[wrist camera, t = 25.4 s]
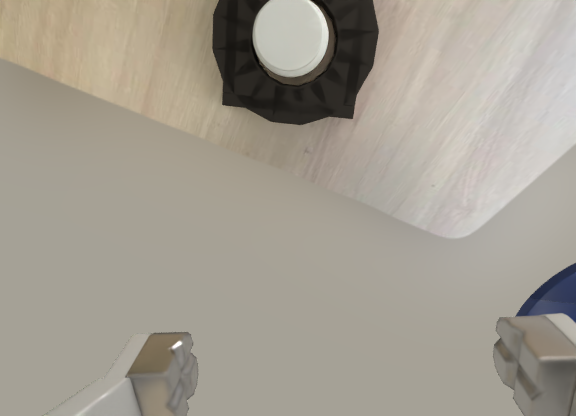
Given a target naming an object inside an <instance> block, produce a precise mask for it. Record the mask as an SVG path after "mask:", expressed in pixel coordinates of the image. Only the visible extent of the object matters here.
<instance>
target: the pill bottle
mask: <svg viewBox="0 0 576 416" xmlns="http://www.w3.org/2000/svg"><path fill="white" fill-rule="evenodd" d="M328 38H329V33H328V27H327V22H326V20H325V17H324V16H323V14H322V12H321V10H320V9H319V8H318V7H317V6H316V5H315V4H314V3H313V2H312V1H310V0H270V1H268V2H267V3H266V4H265V5H264V6H263V7H262V8H261V10H260V11H259V13H258V14H257V16H256V19H255V22H254V26H253V44H254V48H255V51H256V53H257V55H258V57H259V59H260V61H261V62H262V63H263V64H264V65H265V66H266V67H267V68H268V69H269V70H270V71H272V72H273V73H275V74H277V75H280V76H283V77H297V76H302V75H305V74H307V73H309V72H310V71H312V70H313V69H314V68H315V67H316V66H317V65H318V64H319V63H320V62H321V60H322V59H323V57H324V55H325V53H326V50H327V46H328Z"/></svg>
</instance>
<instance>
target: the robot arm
mask: <svg viewBox="0 0 576 416" xmlns="http://www.w3.org/2000/svg"><path fill="white" fill-rule="evenodd" d="M496 332H497V333H498V335H499V336H500V337H501V338H500V339H499V340H498V341H497V342H496V343H495V344H494V350H493V358H494V363H495V367H496V370H497V373H498V375H499V376H500V378H501V380H502V382H503V383H504V384H505V385H507V386H508V387H510V388H512V389H513V390H514V396H513V399H514V401H515V402H516V404H517V405H518V407H519V409H520V410H521V412H522V413H523V415H524V416H576V323H575V322H574V321H573V320H572V319H571V318H570V317H569V316H567V315H565V314H563V313H558V314H544V315H539V316H519V317H500V318H499V319H498V321H497V325H496ZM192 346H193V341H192V337H191V334H189V333H188V332H173V333H172V332H171V333H142V334H135V335H133V336H131V338H130V339H129V341H128V342H127V344H126V345H125V347H124V348H123V350H122V351H121V353H120V355H119V356H118V357H117V359H116V361H115V362H114V363H113V365H112V367H111V368H110V369H109V371H108V372H107V374H106V376H105V377H104V378H102V379H97V380H95V381H94V382H92V383H91V384H89V385H88V386H86V387H85V388H83V389H82V390H80V391H79V392H77V393H76V394H74V395H73V396H71V397H70V398H69V399H67V400H65V401H64V402H63V403H61V404H59V405H58V406H56V407H55V408H53V409H52V410H50V411H49V412H47V413H46V414H44V415H43V416H187V413H188V410H189V407H188V403H187V400H188V399H189V398H190V397H191V396H192V395H194V392H195V389H196V386H197V379H198V363H197V358H196V357H195V356H194V355H193V354H192V353H191V352H190V351H191V349H192Z"/></svg>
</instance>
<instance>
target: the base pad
mask: <svg viewBox="0 0 576 416" xmlns="http://www.w3.org/2000/svg"><path fill="white" fill-rule="evenodd" d="M268 1H270V0H219V2H218V4H217V7H216V9H215V11H214V14H213V53H214V55H215V58H216V61H217V64H218V67H219V70H220V73H221V76H222V79H223V101H222V105H225V106H235V107H244V108H247V109H249V110H251V111H252V112H254V113H256V114H258V115H260V116H262V117H263V118H265V119H267V120H269V121H272V122H278V123H287V124H297V125H301V124H302V125H303V124H306V123H310V122H313V121H316V120H320V119H323V118H326V117H338V118H348V119H353V114H354V106H355V101H356V95H357V93H358V91H359V90H360V88H361V86H362V84H363V83H364V81H365V79H366V78H367V76H368V74H369V72H370V71H371V69H372V66H373V63H374V57H375V51H376V45H377V39H378V33H379V31H378V25H377V20H376V15H375V10H374V5H373V0H312V1H314V2H316V3H317V4H319V5H320V6H322V7H323V8H324V10H325V11H326V13H327V14H328V15H329V17H330V18H331V20H332V22H333V26H334V30H335V35H336V44H335V51H334V56H333V58H332V60H331V62H330V64H329V66H328V67H327V69H326V71H325V72H323V73H322V74H321V75H320V76H319V77H317V78H316V79H315V80H314V81H311V82H308V83H305V84H302V85H299V86H298V85H288V84H282V83H281V82H279V81H277V80H275V79H274V78H272V77H270V76H269V75H268V74H267V72H266V71H265V70H264V69H263V67H262V66H261V65H260V63H259V60H258V57H257V54H256V51H255V48H254V44H253V26H254V22H255V19H256V16H257V14H258V13H259V11H260V10H261V8H262V7H263V6H264V5H265V4H266V3H267V2H268Z"/></svg>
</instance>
